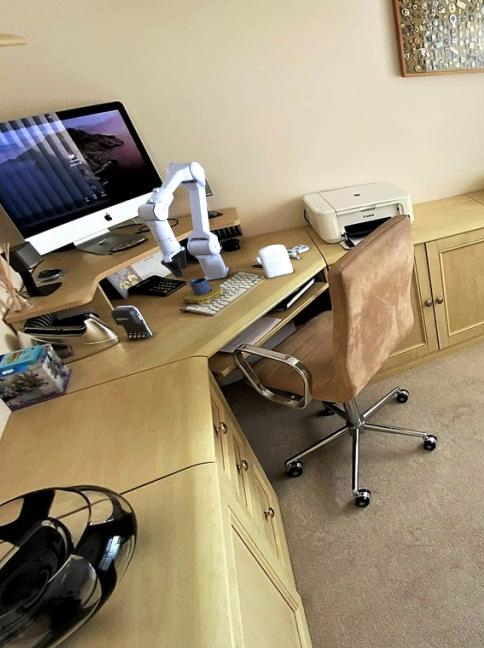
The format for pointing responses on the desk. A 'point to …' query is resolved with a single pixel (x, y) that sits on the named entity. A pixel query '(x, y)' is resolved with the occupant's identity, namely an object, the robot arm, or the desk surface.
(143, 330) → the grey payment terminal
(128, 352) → the desk surface
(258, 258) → the robot figure
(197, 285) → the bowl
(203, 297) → the gold flat disc
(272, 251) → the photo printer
